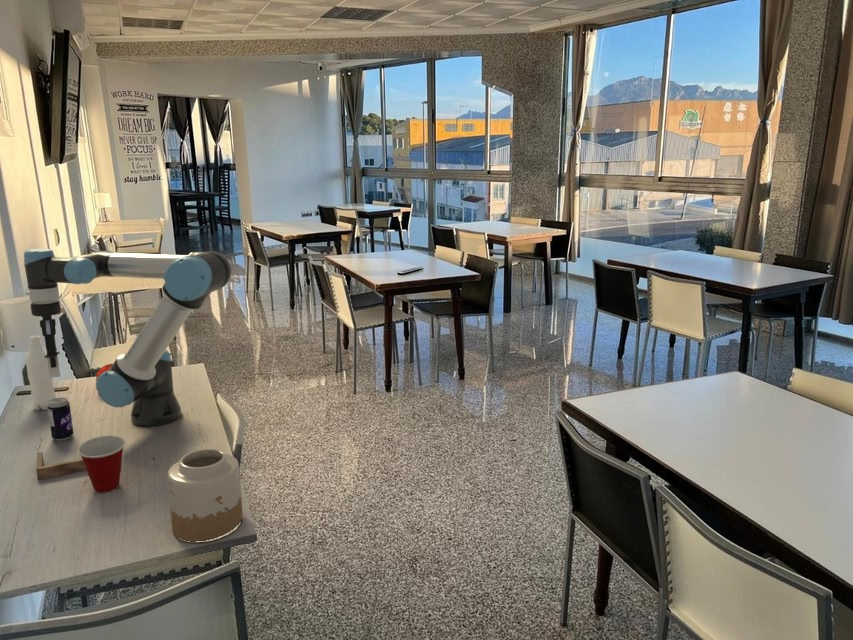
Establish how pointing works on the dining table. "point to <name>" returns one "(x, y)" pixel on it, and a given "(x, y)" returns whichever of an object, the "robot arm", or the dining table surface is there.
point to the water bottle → (39, 375)
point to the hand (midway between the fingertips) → (55, 376)
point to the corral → (57, 467)
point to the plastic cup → (103, 461)
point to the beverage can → (60, 419)
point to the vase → (204, 495)
